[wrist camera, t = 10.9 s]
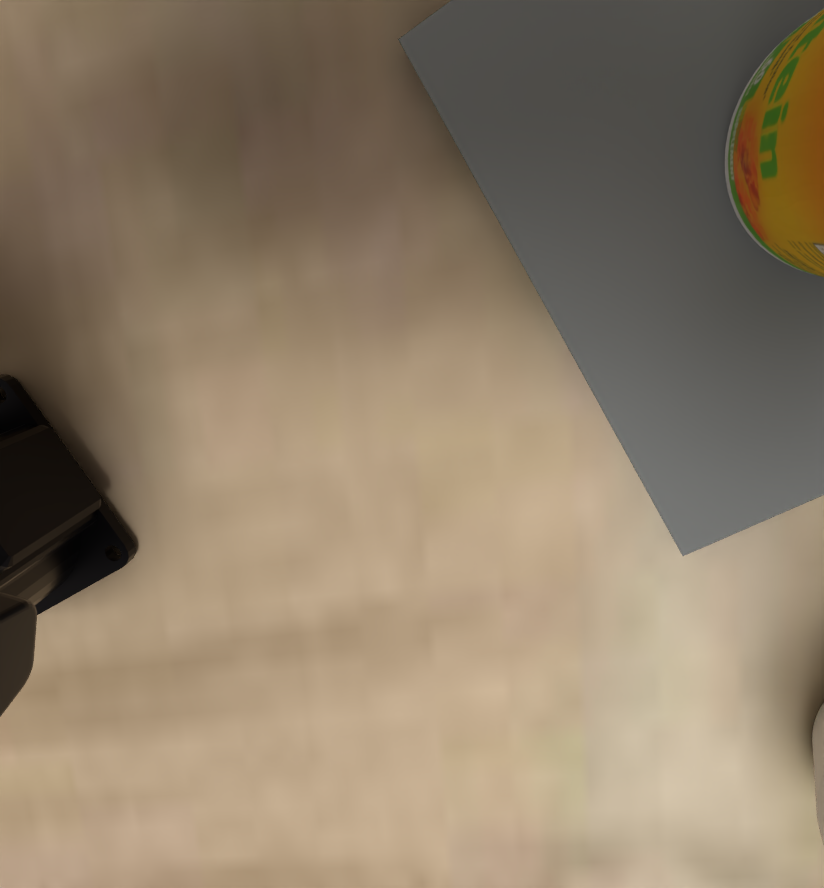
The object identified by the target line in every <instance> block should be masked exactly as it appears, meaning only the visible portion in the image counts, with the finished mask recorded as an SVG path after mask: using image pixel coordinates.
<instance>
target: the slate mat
mask: <svg viewBox="0 0 824 888" xmlns="http://www.w3.org/2000/svg"><path fill="white" fill-rule="evenodd" d="M823 8H824V0H451V1H450V2H448V3H447V4H446V5H444V6H443V7H441V8H440V9H439V10H437V11H436V12H435V13H433V14H432V15H431V16H429V17H428V18H427V19H425V20H424V21H422V22H421V23H420V24H418V25H417V26H416V27H414V28H413V29H412V30H410V31H409V32H407V33H406V34H405V35H403V36H402V37H401V38H399V39H398V40H399V42H400V43H401V45H402V47H403V49H404V51H405V53H406V54H407V56H408V58H409V60H410V62H411V63H412V65H413V67H414V69H415V71H416V73H417V74H418V76H419V78H420V80H421V82H422V83H423V85H424V87H425V89H426V91H427V92H428V94H429V96H430V98H431V100H432V102H433V103H434V105H435V107H436V109H437V111H438V112H439V114H440V116H441V118H442V120H443V122H444V123H445V125H446V127H447V129H448V131H449V132H450V134H451V136H452V138H453V140H454V142H455V143H456V145H457V147H458V149H459V151H460V152H461V154H462V156H463V158H464V160H465V161H466V163H467V165H468V167H469V169H470V171H471V172H472V174H473V176H474V178H475V180H476V181H477V183H478V185H479V187H480V189H481V191H482V192H483V194H484V196H485V198H486V200H487V201H488V203H489V205H490V207H491V209H492V211H493V212H494V214H495V216H496V218H497V220H498V221H499V223H500V225H501V227H502V229H503V230H504V232H505V234H506V236H507V238H508V240H509V241H510V243H511V245H512V247H513V249H514V250H515V252H516V254H517V256H518V258H519V260H520V261H521V263H522V265H523V267H524V269H525V270H526V272H527V274H528V276H529V278H530V280H531V281H532V283H533V285H534V287H535V289H536V290H537V292H538V294H539V296H540V298H541V299H542V301H543V303H544V305H545V307H546V309H547V310H548V312H549V314H550V316H551V318H552V319H553V321H554V323H555V325H556V327H557V329H558V330H559V332H560V334H561V336H562V338H563V339H564V341H565V343H566V345H567V347H568V349H569V350H570V352H571V354H572V356H573V358H574V359H575V361H576V363H577V365H578V367H579V369H580V370H581V372H582V374H583V376H584V378H585V379H586V381H587V383H588V385H589V387H590V388H591V390H592V392H593V394H594V396H595V398H596V399H597V401H598V403H599V405H600V407H601V408H602V410H603V412H604V414H605V416H606V418H607V419H608V421H609V423H610V425H611V427H612V428H613V430H614V432H615V434H616V436H617V438H618V439H619V441H620V443H621V445H622V447H623V448H624V450H625V452H626V454H627V456H628V457H629V459H630V461H631V463H632V465H633V467H634V468H635V470H636V472H637V474H638V476H639V477H640V479H641V481H642V483H643V485H644V487H645V488H646V490H647V492H648V494H649V496H650V497H651V499H652V501H653V503H654V505H655V507H656V508H657V510H658V512H659V514H660V516H661V517H662V519H663V521H664V523H665V525H666V526H667V528H668V530H669V532H670V534H671V536H672V537H673V539H674V541H675V543H676V545H677V546H678V548H679V550H680V552H681V554H682V556H684V555H687V554H689V553H691V552H694V551H696V550H698V549H701V548H703V547H705V546H707V545H710V544H712V543H714V542H717V541H719V540H721V539H724V538H726V537H728V536H730V535H733V534H735V533H737V532H740V531H742V530H744V529H747V528H749V527H751V526H753V525H756V524H758V523H760V522H763V521H765V520H767V519H770V518H772V517H774V516H776V515H779V514H781V513H783V512H786V511H788V510H790V509H793V508H795V507H797V506H799V505H802V504H804V503H806V502H809V501H811V500H813V499H816V498H818V497H820V496H822V495H824V277H821V276H817V275H814V274H810V273H807V272H804V271H801V270H798V269H795V268H793V267H791V266H789V265H787V264H785V263H783V262H781V261H780V260H778V259H776V258H775V257H773V256H772V255H770V254H769V253H768V252H766V251H765V250H764V249H763V248H761V247H760V246H759V245H758V244H757V243H756V242H755V241H754V240H753V239H752V238H751V236H750V235H749V234H748V233H747V231H746V230H745V229H744V227H743V226H742V224H741V222H740V221H739V219H738V217H737V215H736V213H735V211H734V208H733V206H732V203H731V200H730V197H729V194H728V189H727V184H726V177H725V147H726V141H727V135H728V130H729V126H730V123H731V119H732V116H733V113H734V110H735V108H736V106H737V103H738V101H739V99H740V97H741V95H742V93H743V91H744V89H745V87H746V85H747V84H748V82H749V80H750V79H751V77H752V76H753V74H754V73H755V71H756V70H757V69H758V67H759V66H760V65H761V63H762V62H763V61H764V60H765V58H766V57H767V56H768V55H769V54H770V53H771V52H772V51H773V49H774V48H775V47H776V46H778V45H779V44H780V43H781V42H782V41H783V40H784V39H785V38H786V37H787V36H788V35H790V34H791V33H792V32H793V31H794V30H795V29H797V28H798V27H799V26H800V25H802V24H803V23H804V22H806V21H807V20H808V19H810V18H811V17H813V16H814V15H815V14H817V13H818V12H819V11H821V10H822V9H823Z"/></svg>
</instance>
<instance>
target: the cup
mask: <svg viewBox="0 0 824 888" xmlns="http://www.w3.org/2000/svg"><path fill="white" fill-rule="evenodd" d="M812 746H813V762H814V777H815V793H816V809H817V819H818V825H819V829H820V833H821V837H822V840H823V844H824V703H823V704H822V706H821V708H820V709H819V711H818V714H817V716H816V719H815V722H814V726H813V732H812Z"/></svg>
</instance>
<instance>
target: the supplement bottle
mask: <svg viewBox="0 0 824 888" xmlns="http://www.w3.org/2000/svg"><path fill="white" fill-rule="evenodd" d="M725 177H726V184H727V189H728V194H729V197H730V200H731V203H732V206H733V208H734V211H735V213H736V215H737V217H738V219H739V221H740V222H741V224H742V226H743V227H744V229H745V230H746V231H747V233H748V234H749V235H750V236H751V238H752V239H753V240H754V241H755V242H756V243H757V244H758V245H759V246H760V247H761V248H763V249H764V250H765V251H766V252H768V253H769V254H770V255H772V256H773V257H775V258H776V259H778V260H780V261H781V262H783V263H785V264H787V265H789V266H791V267H793V268H795V269H798V270H801V271H804V272H807V273H810V274H814V275H817V276H821V277H824V8H823V9H822V10H821V11H819V12H818V13H817V14H815V15H814V16H813V17H811V18H810V19H808V20H807V21H806V22H804V23H803V24H802V25H800V26H799V27H798V28H797V29H795V30H794V31H793V32H792V33H791V34H790V35H788V36H787V37H786V38H785V39H784V40H783V41H782V42H781V43H780V44H779V45H778V46H776V47H775V48H774V49H773V51H772V52H771V53H770V54H769V55H768V56H767V57H766V58H765V60H764V61H763V62H762V63H761V65H760V66H759V67H758V69H757V70H756V71H755V73H754V74H753V76H752V77H751V79H750V80H749V82H748V84H747V85H746V87H745V89H744V91H743V93H742V95H741V97H740V99H739V101H738V103H737V106H736V108H735V110H734V113H733V116H732V119H731V123H730V126H729V130H728V135H727V141H726V147H725Z"/></svg>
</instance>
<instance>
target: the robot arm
mask: <svg viewBox="0 0 824 888" xmlns="http://www.w3.org/2000/svg"><path fill="white" fill-rule="evenodd" d="M0 387H1V388H2V389H3V390H4V391H5V393H6V399H5V398H3V397H2V396H1V393H0V717H1V715H2V714H3V713H4V711H5V710H6V709H7V707H8V706H9V705H10V703H11V702H12V701H13V699H14V698H15V697H16V695H17V694H18V693H19V692H20V690H21V689H22V687H23V686H24V685H25V683H26V681H27V679H28V678H29V675H30V673H31V670H32V667H33V661H34V649H35V635H36V622H37V615H38V614H40V613H42V612H44V611H45V610H47V609H49V608H51V607H52V606H54V605H56V604H58V603H60V602H61V601H63V600H65V599H67V598H69V597H70V596H72V595H74V594H76V593H77V592H79V591H81V590H83V589H85V588H86V587H88V586H90V585H92V584H94V583H95V582H97V581H99V580H101V579H102V578H104V577H106V576H108V575H110V574H111V573H113V572H115V571H117V570H119V569H120V568H122V567H124V566H125V565H126V564H127V563H128V562H129V561H131V560H132V559H133V558H134V556H135V553H136V548H135V545H134V543H133V540H132V539H131V538H130V536H129V535H128V534H127V532H126V531H125V529H124V528H123V527H122V525H121V524H120V522H119V521H118V520H117V518H116V517H115V515H114V514H113V513H112V511H111V510H110V508H109V507H108V506H107V504H106V503H105V501H104V500H103V499H102V497H101V496H100V494H99V493H98V492H97V490H96V489H95V487H94V486H93V485H92V483H91V482H90V480H89V479H88V478H87V476H86V475H85V473H84V472H83V471H82V469H81V468H80V466H79V465H78V464H77V462H76V461H75V459H74V458H73V457H72V455H71V454H70V453H69V451H68V450H67V448H66V447H65V446H64V444H63V443H62V441H61V440H60V439H59V437H58V436H57V434H56V433H55V432H54V430H53V429H52V427H51V426H50V425H49V423H48V422H47V420H46V419H45V418H44V416H43V415H42V413H41V412H40V411H39V409H38V408H37V406H36V405H35V404H34V402H33V401H32V399H31V398H30V397H29V395H28V394H27V392H26V391H25V390H24V388H23V387H22V385H21V384H20V383H19V382H18V381H17V380H16V379H15V378H14V377H12V376H10V375H3V374H2V375H0ZM112 546H116V547H117V548H118V549H119V550H120V552H121V555H119V554H117V553H116V552H114V550H113V548H112Z"/></svg>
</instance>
